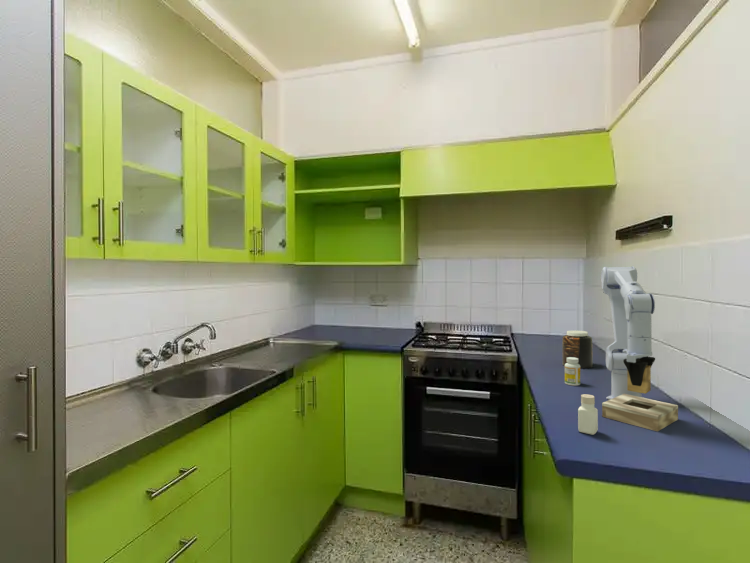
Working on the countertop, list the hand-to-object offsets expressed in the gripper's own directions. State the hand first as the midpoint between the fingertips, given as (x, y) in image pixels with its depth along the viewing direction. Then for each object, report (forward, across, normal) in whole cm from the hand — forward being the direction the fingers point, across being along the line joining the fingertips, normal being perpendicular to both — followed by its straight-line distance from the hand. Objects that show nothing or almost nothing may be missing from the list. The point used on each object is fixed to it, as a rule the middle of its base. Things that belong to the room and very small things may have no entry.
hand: (639, 383), depth 116 cm
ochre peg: (+2, 0, 0) cm, 2 cm away
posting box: (+10, 0, 0) cm, 10 cm away
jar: (+10, -52, -39) cm, 66 cm away
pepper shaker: (+10, +20, -6) cm, 24 cm away
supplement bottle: (+10, -22, -28) cm, 37 cm away
